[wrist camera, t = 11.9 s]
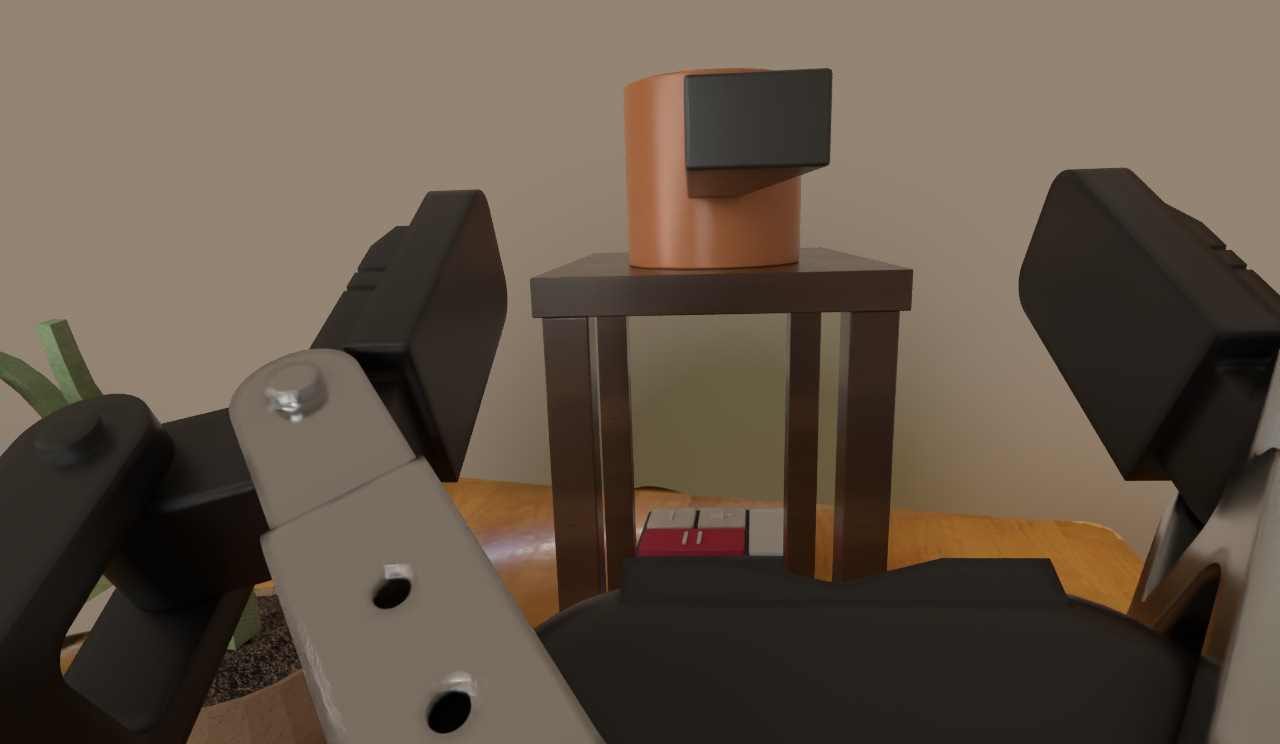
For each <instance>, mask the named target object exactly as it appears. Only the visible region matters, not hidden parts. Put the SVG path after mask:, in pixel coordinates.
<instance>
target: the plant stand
mask: <svg viewBox="0 0 1280 744" xmlns="http://www.w3.org/2000/svg"><path fill="white" fill-rule="evenodd" d="M912 284H913V270H912V269H909V268H905V267H901V266H896V265H892V264H888V263H884V262H880V261H875V260H871V259H867V258H863V257H859V256H854V255H850V254H846V253H842V252H838V251H834V250H829V249H825V248H800V254H799V261H798V262H796V263H792V264H787V265H779V266H767V267H753V268H731V269H651V268H639V267H633V266H631V265H630V264H629V253H595V254H592V255H589V256H587V257H584V258H581V259H579V260H576V261H574V262H571V263H569V264H566V265H564V266H561V267H559V268H556V269H553V270H551V271H548V272H546V273H543V274H541V275H538V276H536V277H533V278H531V279H530V289H531V303H532V304H531V305H532V317H533V318H542V324H543V341H544V357H545V376H546V390H547V391H546V392H547V409H548V426H549V443H550V460H551V477H552V493H553V510H554V527H555V544H556V561H557V578H558V595H559V611H560V612H561V611H563V610H565V609H567V608H569V607H571V606H572V605H574V604H576V603H578V602H580V601H583V600H586V599H588V598H591V597H594V596H596V595H599V594H602V593H605V592H606V574H605V551H604V528H603V505H602V482H601V458H600V437H599V413H598V389H597V367H596V345H595V344H596V343H595V320H594V317H597V334H598V335H597V337H598V359H599V382H600V383H599V384H600V406H601V431H602V453H603V476H604V501H605V525H606V548H607V572H608V592H609V591H613V590H616V589H620V588H621V574H622V559H623V558H637V556H636V526H635V495H634V467H633V466H634V465H633V435H632V405H631V404H632V403H631V373H630V342H629V316H656V315H657V316H659V315H660V316H661V315H706V314H707V315H713V314H757V313H758V314H761V313H763V314H764V313H787V328H786V393H785V394H786V395H785V455H784V456H785V458H784V518H783V571H784V572H788V573H792V574H797V575H801V576H805V577H810V578H814V571H815V533H816V495H817V457H818V419H819V417H818V416H819V381H820V344H821V312H841V326H840V355H839V386H838V387H839V388H838V417H837V448H836V451H837V452H836V479H835V480H836V481H835V510H834V541H833V572H832V582H844V581H850V580H854V579H858V578H862V577H866V576H870V575H874V574H878V573H883V572H887V555H888V535H889V515H890V496H891V476H892V456H893V455H892V454H893V435H894V416H895V415H894V414H895V396H896V377H897V357H898V337H899V317H900V311H910V310H911V302H912Z"/></svg>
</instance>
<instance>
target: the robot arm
mask: <svg viewBox="0 0 1280 744" xmlns="http://www.w3.org/2000/svg"><path fill="white" fill-rule="evenodd" d="M1246 266H1247V264H1246V263H1245V262H1244V261H1242V260H1241V259H1240V258H1239V257H1238V256H1237V255H1236V254H1235V253H1234V252H1233V251H1232V250H1226V245H1225V244H1224V243H1223V242H1222V241H1221V240H1220V239H1219V238H1218V237H1217V236H1216V235H1215V234H1214V233H1213V232H1212V231H1211V230H1209V228H1207V227H1206V226H1205V225H1204V224H1203V223H1202V222H1200V221H1198V220H1197V219H1195V218H1193V217H1191V216H1189V215H1187V214H1185V213H1183V212H1181V211H1179V210H1177V209H1175V208H1173V207H1171V206H1169V205H1168V204H1166V203H1164V202H1163V201H1162V200H1161V199H1160V198H1159V197H1158V196H1157V195H1156V194H1155V193H1154V192H1153V191H1152V190H1151V189H1150V188H1149V187H1148V186H1147V185H1146V184H1145V183H1144V182H1143V181H1142V180H1141V179H1140V178H1139V177H1138V176H1137V175H1135V174H1134V173H1133V172H1132V171H1131V170H1130V169H1127V168H1102V169H1074V170H1065V171H1062V172H1061V173H1060V174H1059V175H1058V176H1057V177H1056V178H1055V179H1054V181H1053V183H1052V184H1051V187H1050V189H1049V192H1048V194H1047V197H1046V200H1045V203H1044V205H1043V209H1042V211H1041V214H1040V217H1039V219H1038V222H1037V225H1036V228H1035V230H1034V233H1033V236H1032V239H1031V242H1030V244H1029V247H1028V250H1027V253H1026V255H1025V258H1024V261H1023V264H1022V267H1021V270H1020V276H1019V297H1020V302H1021V305H1022V308H1023V310H1024V312H1025V313H1026V315H1027V317H1028V318H1029V320H1030V322H1031V324H1032V325H1033V327H1034V329H1035V330H1036V332H1037V334H1038V335H1039V337H1040V339H1041V340H1042V342H1043V344H1044V345H1045V347H1046V349H1047V350H1048V352H1049V353H1050V355H1051V357H1052V359H1053V360H1054V362H1055V364H1056V365H1057V367H1058V369H1059V371H1060V372H1061V374H1062V375H1063V377H1064V379H1065V381H1066V382H1067V384H1068V386H1069V387H1070V389H1071V391H1072V392H1073V394H1074V396H1075V397H1076V399H1077V401H1078V402H1079V404H1080V406H1081V408H1082V409H1083V411H1084V413H1085V414H1086V416H1087V418H1088V419H1089V421H1090V423H1091V424H1092V426H1093V428H1094V429H1095V431H1096V433H1097V434H1098V436H1099V438H1100V439H1101V441H1102V443H1103V444H1104V446H1105V447H1106V449H1107V451H1108V453H1109V455H1110V456H1111V458H1112V459H1113V461H1114V463H1115V465H1116V466H1117V468H1118V470H1119V471H1120V473H1121V475H1122V476H1123V478H1124V480H1125V481H1163V480H1164V481H1170V480H1171V481H1172V482H1173V483H1174V485H1175V487H1176V488H1177V491H1176V492H1175V494H1174V495H1173V497H1172V498H1171V499H1170V501H1169V502H1168V504H1167V505H1166V507H1165V509H1164V511H1163V514H1162V517H1161V519H1160V522H1159V525H1158V528H1157V531H1156V534H1155V536H1154V539H1153V542H1152V545H1151V548H1150V551H1149V553H1148V556H1147V559H1146V562H1145V565H1144V568H1143V570H1142V573H1141V576H1140V579H1139V582H1138V585H1137V587H1136V590H1135V593H1134V596H1133V599H1132V602H1131V605H1130V607H1129V610H1128V612H1127V615H1126V614H1123V613H1121V612H1119V611H1116V610H1114V609H1111V608H1109V607H1107V606H1104V605H1102V604H1099V603H1096V602H1092V601H1089V600H1086V599H1083V598H1080V597H1077V596H1074V595H1070V594H1066V593H1065V591H1064V589H1063V587H1062V585H1061V582H1060V580H1059V578H1058V576H1057V573H1056V571H1055V569H1054V567H1053V564H1052V562H1051V560H1050V558H940V559H936V560H932V561H928V562H924V563H920V564H916V565H912V566H907V567H903V568H899V569H895V570H891V571H887V572H883V573H878V574H874V575H870V576H866V577H862V578H858V579H854V580H850V581H844V582H828V581H823V580H818V579H814V578H810V577H805V576H801V575H797V574H792V573H788V572H784V571H779V570H775V569H770V568H766V567H762V566H757V565H753V564H749V563H744V562H740V561H736V560H731V559H727V558H623V559H622V574H621V588H620V589H616V590H613V591H609V592H605V593H602V594H599V595H596V596H594V597H591V598H588V599H586V600H583V601H580V602H578V603H576V604H574V605H572V606H571V607H569V608H567V609H565V610H563V611H561V612H559V613H557V614H555V615H554V616H552V617H551V618H549V619H548V620H546V621H545V622H543V623H542V624H540V625H539V626H537V627H536V628H534V629H533V628H532V627H531V625H530V623H529V622H528V620H527V619H526V617H525V615H524V614H523V612H522V611H521V609H520V608H519V606H518V604H517V603H516V601H515V600H514V598H513V596H512V595H511V593H510V592H509V590H508V588H507V587H506V585H505V584H504V582H503V580H502V579H501V577H500V576H499V574H498V572H497V571H496V569H495V568H494V566H493V565H492V563H491V561H490V560H489V558H488V557H487V555H486V553H485V552H484V550H483V549H482V547H481V545H480V544H479V542H478V541H477V539H476V537H475V536H474V534H473V533H472V531H471V529H470V528H469V526H468V525H467V523H466V522H465V520H464V518H463V517H462V515H461V514H460V512H459V510H458V509H457V507H456V506H455V504H454V502H453V501H452V499H451V498H450V496H449V494H448V493H447V491H446V490H445V488H444V487H443V485H442V483H441V482H458V479H459V475H460V472H461V468H462V465H463V462H464V459H465V455H466V452H467V448H468V445H469V442H470V438H471V435H472V432H473V428H474V425H475V421H476V418H477V414H478V411H479V408H480V404H481V401H482V397H483V394H484V391H485V388H486V384H487V381H488V377H489V374H490V370H491V367H492V364H493V360H494V357H495V353H496V350H497V347H498V343H499V340H500V337H501V333H502V330H503V327H504V323H505V319H506V314H507V287H506V280H505V275H504V271H503V266H502V262H501V258H500V254H499V249H498V245H497V240H496V236H495V231H494V227H493V223H492V218H491V214H490V209H489V205H488V202H487V199H486V197H485V195H484V193H483V192H482V191H481V190H454V191H430V192H428V193H427V194H426V196H425V198H424V200H423V201H422V203H421V205H420V207H419V209H418V210H417V213H416V214H415V216H414V218H413V220H412V221H411V223H410V225H409V226H396V227H395V228H394V229H392V230H391V231H390V232H388V233H387V234H386V235H385V236H383V237H382V238H381V239H379V240H378V241H377V242H376V243H374V244H373V245H372V246H371V247H370V249H369V250H368V252H367V253H366V255H365V257H364V259H363V260H362V262H361V264H360V265H359V267H358V273H355V274H354V275H353V277H352V279H351V280H350V282H349V284H348V285H347V291H344V292H343V294H342V295H341V297H340V299H339V301H338V302H337V304H336V305H335V307H334V309H333V310H332V312H331V314H330V315H329V317H328V319H327V320H326V322H325V324H324V326H323V327H322V329H321V330H320V332H319V334H318V335H317V337H316V339H315V340H314V342H313V344H312V345H311V347H310V349H309V350H303V351H299V352H295V353H291V354H289V355H285V356H283V357H280V358H278V359H276V360H274V361H271V362H269V363H268V364H266V365H264V366H262V367H261V368H259V369H258V370H256V371H255V372H254V373H252V374H251V375H250V376H249V377H248V378H247V379H245V380H244V381H243V382H242V384H241V385H240V386H239V387H238V388H237V390H236V391H235V393H234V395H233V396H232V399H231V402H230V405H229V408H225V409H221V410H217V411H213V412H209V413H205V414H201V415H196V416H192V417H188V418H184V419H180V420H176V421H171V422H167V423H163V424H161V423H160V422H159V421H158V420H157V418H156V417H155V415H154V414H153V413H152V411H151V410H150V409H149V407H148V406H147V405H146V403H145V402H144V401H142V400H141V399H140V398H137V397H134V396H132V395H126V394H109V395H100V396H96V397H91V398H87V399H84V400H81V401H78V402H75V403H72V404H70V405H67V406H65V407H63V408H61V409H59V410H57V411H55V412H53V413H51V414H49V415H47V416H46V417H44V418H42V419H41V420H39V421H38V422H36V423H35V424H33V425H32V426H31V427H29V428H28V429H27V430H26V431H24V432H23V433H22V434H21V435H20V436H19V437H18V438H17V439H16V440H15V441H14V442H13V443H12V444H11V445H10V446H9V448H8V449H7V450H6V451H5V452H4V453H3V454H2V456H1V457H0V744H186V743H187V741H188V738H189V736H190V734H191V731H192V729H193V727H194V725H195V722H196V720H197V718H198V715H199V713H200V711H201V708H202V706H203V704H204V701H205V699H206V697H207V694H208V692H209V690H210V687H211V685H212V683H213V681H214V678H215V676H216V674H217V671H218V669H219V667H220V664H221V662H222V660H223V657H224V655H225V653H226V650H227V648H228V646H229V643H230V641H231V639H232V637H233V634H234V632H235V630H236V627H237V625H238V623H239V620H240V618H241V616H242V613H243V611H244V609H245V606H246V604H247V602H248V599H249V597H250V595H251V593H252V590H253V588H254V586H255V585H256V584H259V583H263V582H266V581H270V580H273V583H274V586H275V589H276V592H277V595H278V598H279V601H280V604H281V607H282V610H283V613H284V616H285V619H286V622H287V625H288V628H289V630H290V633H291V636H292V639H293V642H294V645H295V648H296V651H297V654H298V657H299V660H300V663H301V666H302V669H303V672H304V675H305V678H306V681H307V684H308V687H309V690H310V693H311V695H312V698H313V701H314V704H315V707H316V710H317V713H318V716H319V719H320V722H321V725H322V728H323V731H324V734H325V737H326V740H327V743H328V744H1280V295H1279V294H1278V293H1276V291H1275V290H1273V289H1272V288H1271V287H1270V286H1269V285H1268V284H1267V283H1266V282H1265V281H1264V280H1263V279H1262V278H1261V277H1260V276H1259V275H1258V274H1256V273H1255V272H1254V271H1253V270H1247V269H1246ZM102 575H104V576H105V577H106V578H107V579H108V580H109V581H110V582H111V583H112V584H113V585H114V586H115V587H116V589H115V590H114V592H113V594H112V596H111V597H110V599H109V601H108V602H107V604H106V606H105V607H104V609H103V611H102V612H101V614H100V616H99V617H98V619H97V621H96V623H95V624H94V626H93V628H92V629H91V631H90V633H89V634H88V636H87V638H86V639H85V641H84V643H83V644H82V646H81V648H80V649H79V651H78V653H77V655H76V656H75V658H74V660H73V661H72V663H71V665H70V666H69V668H68V670H67V671H66V673H65V675H64V676H62V673H61V668H60V653H61V648H62V644H63V641H64V638H65V636H66V633H67V632H68V630H69V628H70V626H71V625H72V623H73V622H74V620H75V618H76V617H77V615H78V613H79V612H80V610H81V609H82V607H83V605H84V604H85V602H86V601H87V599H88V597H89V596H90V594H91V592H92V591H93V589H94V588H95V586H96V584H97V583H98V581H99V580H100V578H101V576H102Z"/></svg>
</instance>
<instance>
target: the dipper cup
mask: <svg viewBox="0 0 1280 744" xmlns="http://www.w3.org/2000/svg"><path fill="white" fill-rule="evenodd" d="M831 109H832V70H831V69H829V68H821V69H800V70H778V71H775V70H766V69H746V68H745V69H744V68H725V69H704V70H691V71H682V72H675V73H667V74H661V75H656V76H652V77H647V78H643V79H640V80H637V81H634V82H632V83H630V84H628V85H627V86H626V87H625V88H624V117H625V118H624V120H625V151H626V182H627V213H628V242H629V243H628V244H629V264H630V265H631V266H633V267H639V268H651V269H731V268H753V267H767V266H779V265H787V264H792V263H796V262H798V261H799V254H800V202H801V201H800V200H801V175H803V174H805V173H808V172H811V171H813V170H817V169H819V168H822V167H825V166H827V165H829V163H830V144H831Z"/></svg>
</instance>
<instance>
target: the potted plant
mask: <svg viewBox="0 0 1280 744" xmlns="http://www.w3.org/2000/svg"><path fill="white" fill-rule="evenodd" d="M35 326H36V329H37V332H38V334H39V337H40V340H41V343H42V345H43V348H44V351H45V354H46V356H47V359H48V362H49V364H50V366H51V369H52V371H53V373H54V376H55V378H56V380H57V383H58V385H59V387H60V390H61V391H60V390H59V389H58V388H57V387H56V386H55V385H54V384H53V383H51V382H50V381H49V380H48V379H47V378H46V377H45V376H43V375H42V374H41V373H39V372H38V371H36V370H35V369H34V368H32V367H30V366H29V365H28V364H27V363H25V362H24V361H22V360H20V359H18V358H15V357H13V356H10V355H8V354H5V353H3V352H0V379H2V380H3V381H4V382H5V383H7V384H8V385H9V386H11V387H12V388H13V389H14V390H16V391H17V392H18V393H19V394H20V395H21V396H22V397H23V398H24V399H25V400H26V401H27V402H28V403H29V404H30V405H31V406H32V407H33V408H34V409H35V411H37V413H38V414H39V415H40V416H41V417H42V418H44V417H46V416H47V415H49V414H51V413H53V412H55V411H57V410H59V409H61V408H63V407H65V406H67V405H70V404H72V403H75V402H78V401H81V400H84V399H87V398H91V397H96V396H100V395H103V394H102V392H101V391H100V390H99V388H98V387H97V385H96V384H95V383H94V381H93V379H92V376H91V375H90V372H89V370H88V368H87V366H86V364H85V362H84V360H83V357H82V355H81V353H80V351H79V349H78V346H77V344H76V341H75V339H74V337H73V334H72V332H71V330H70V327H69V325H68V323H67V320H66V319H59V320H58V319H57V320H56V319H55V320H53V319H52V320H49V321H46V322H43V323H40V324H37V325H35ZM112 585H113V584H112V583H111V582H110V581H109V580H108V579H107V578H106V577H105V576H104V575H102V576H101V578H100V580H99V581H98V583H97V584H96V586H95V588H94V589H93V591H92V592H91V594H90V596H89V597H88V599H87V601H89V600H90V599H92V598H94V597H95V596H97V595H99V594H100V593H102V592H103V591H105V590H107V589H108V588H109V587H110V586H112ZM87 601H86V602H87ZM86 602H85V603H86ZM186 744H328V743H327V740H326V737H325V734H324V731H323V728H322V725H321V722H320V719H319V716H318V713H317V710H316V707H315V704H314V701H313V698H312V695H311V693H310V690H309V687H308V684H307V681H306V678H305V675H304V672H303V669H302V666H301V663H300V660H299V657H298V654H297V651H296V648H295V645H294V642H293V639H292V636H291V633H290V630H289V628H288V625H287V622H286V619H285V616H284V613H283V610H282V607H281V604H280V601H279V598H278V595H277V592H276V589H275V587H272V588H264V589H255V590H254V588H253V590H252V593H251V595H250V597H249V599H248V602H247V604H246V606H245V609H244V611H243V613H242V616H241V618H240V620H239V623H238V625H237V627H236V630H235V632H234V634H233V637H232V639H231V641H230V643H229V646H228V648H227V650H226V653H225V655H224V657H223V660H222V662H221V664H220V667H219V669H218V671H217V674H216V676H215V678H214V681H213V683H212V685H211V687H210V690H209V692H208V694H207V697H206V699H205V701H204V704H203V706H202V708H201V711H200V713H199V715H198V718H197V720H196V722H195V725H194V727H193V729H192V731H191V734H190V736H189V738H188V741H187V743H186Z"/></svg>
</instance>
